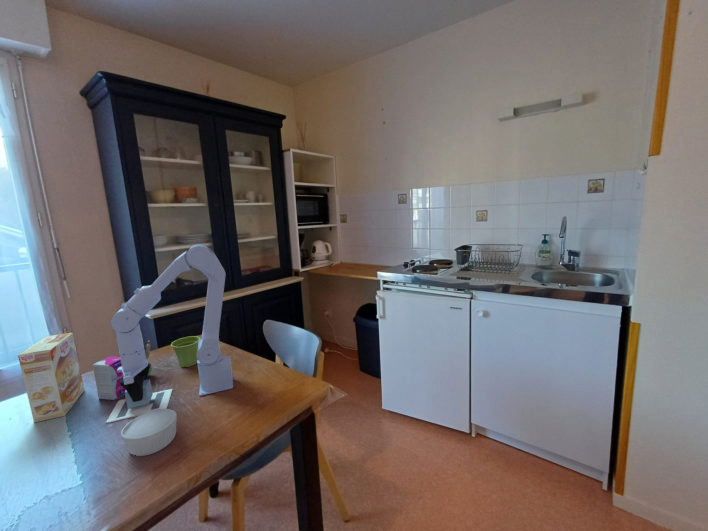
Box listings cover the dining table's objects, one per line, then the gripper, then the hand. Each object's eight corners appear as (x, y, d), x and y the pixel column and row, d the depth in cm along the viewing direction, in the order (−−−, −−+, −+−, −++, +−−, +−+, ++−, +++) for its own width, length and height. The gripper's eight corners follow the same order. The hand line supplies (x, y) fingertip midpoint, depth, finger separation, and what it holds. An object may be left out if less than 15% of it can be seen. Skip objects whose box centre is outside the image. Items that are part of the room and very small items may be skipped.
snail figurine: (159, 374, 109) (153, 341, 107) (138, 383, 104) (132, 349, 102) (151, 371, 112) (145, 338, 110) (130, 379, 107) (124, 345, 105)
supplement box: (114, 401, 94) (107, 365, 92) (98, 400, 95) (90, 364, 93) (131, 390, 100) (125, 356, 98) (116, 389, 101) (109, 355, 99)
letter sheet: (172, 389, 99) (172, 388, 99) (166, 409, 89) (166, 408, 89) (118, 401, 94) (118, 400, 94) (106, 423, 84) (105, 422, 84)
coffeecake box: (65, 416, 88) (50, 349, 85) (32, 423, 86) (15, 355, 83) (86, 389, 102) (73, 331, 99) (57, 395, 99) (44, 336, 96)
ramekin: (127, 437, 78) (123, 418, 77) (179, 421, 83) (176, 402, 83) (121, 468, 68) (117, 446, 68) (180, 447, 74) (177, 426, 73)
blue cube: (152, 394, 94) (149, 379, 94) (148, 403, 90) (145, 387, 89) (132, 399, 93) (129, 383, 92) (127, 408, 88) (124, 392, 87)
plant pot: (208, 362, 117) (204, 339, 115) (180, 372, 110) (176, 348, 108) (196, 355, 123) (193, 334, 121) (170, 365, 116) (166, 342, 114)
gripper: (122, 344, 94) (130, 386, 96) (105, 364, 81) (115, 413, 83) (150, 339, 97) (157, 380, 99) (138, 358, 83) (147, 406, 85)
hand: (140, 395), depth 91 cm, fingers closed on blue cube, 5 cm apart
